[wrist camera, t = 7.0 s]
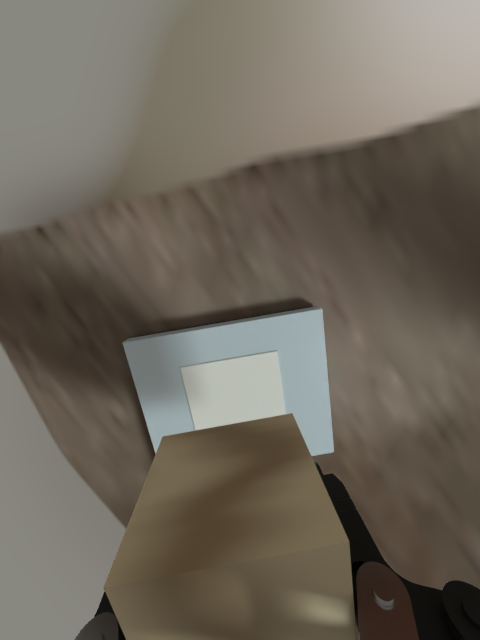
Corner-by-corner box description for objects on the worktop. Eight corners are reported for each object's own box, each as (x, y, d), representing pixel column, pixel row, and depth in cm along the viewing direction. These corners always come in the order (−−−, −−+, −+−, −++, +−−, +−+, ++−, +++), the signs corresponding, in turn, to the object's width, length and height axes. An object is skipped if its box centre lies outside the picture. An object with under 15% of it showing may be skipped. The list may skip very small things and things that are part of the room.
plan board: (316, 306, 17) (322, 308, 16) (328, 442, 19) (334, 452, 18) (128, 338, 17) (121, 343, 15) (167, 471, 19) (163, 483, 18)
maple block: (292, 413, 10) (349, 541, 5) (305, 513, 12) (359, 687, 7) (162, 436, 10) (103, 588, 5) (190, 534, 12) (163, 726, 7)
